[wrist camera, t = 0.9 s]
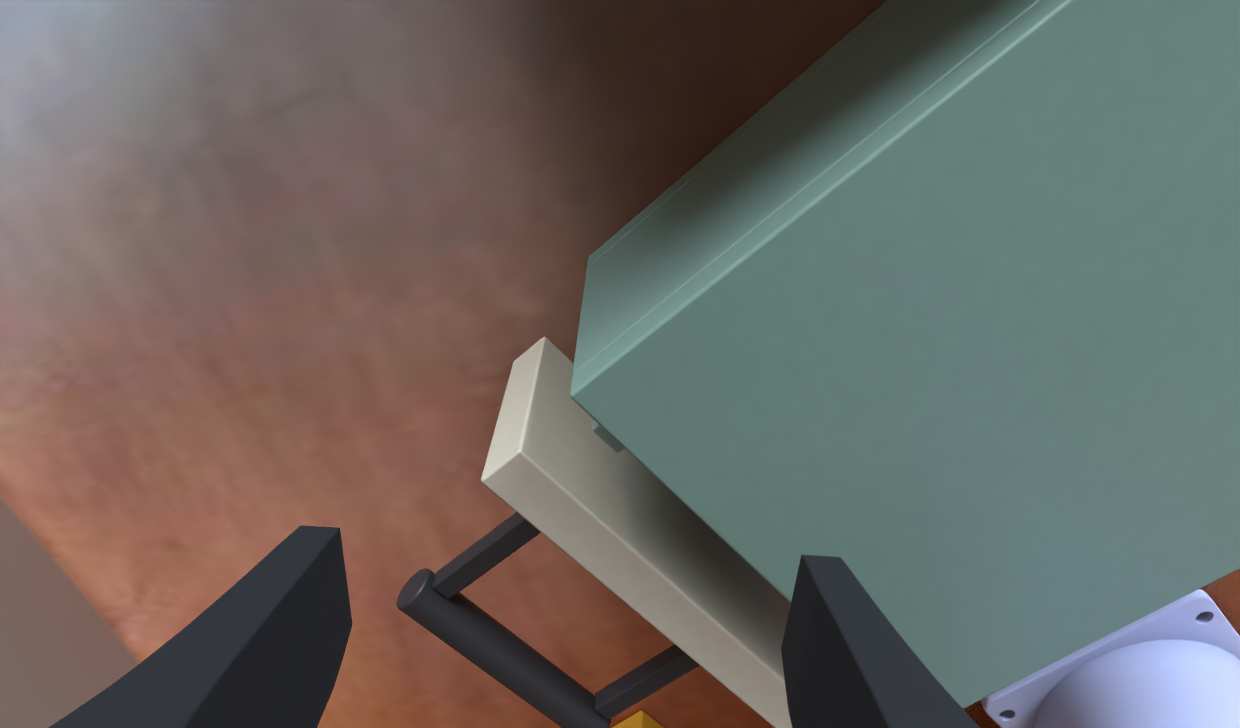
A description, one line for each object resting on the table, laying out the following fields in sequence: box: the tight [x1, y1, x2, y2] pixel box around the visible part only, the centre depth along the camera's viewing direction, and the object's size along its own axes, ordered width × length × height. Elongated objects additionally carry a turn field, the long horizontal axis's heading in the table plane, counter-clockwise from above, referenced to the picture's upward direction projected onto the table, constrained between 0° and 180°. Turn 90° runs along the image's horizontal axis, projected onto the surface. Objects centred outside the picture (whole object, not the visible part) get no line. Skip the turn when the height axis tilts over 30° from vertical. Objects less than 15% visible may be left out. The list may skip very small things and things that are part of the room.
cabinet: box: [569, 0, 1240, 709], centre depth 18 cm, size 13×12×7 cm
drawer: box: [397, 337, 792, 728], centre depth 20 cm, size 18×11×5 cm, turn 132°
